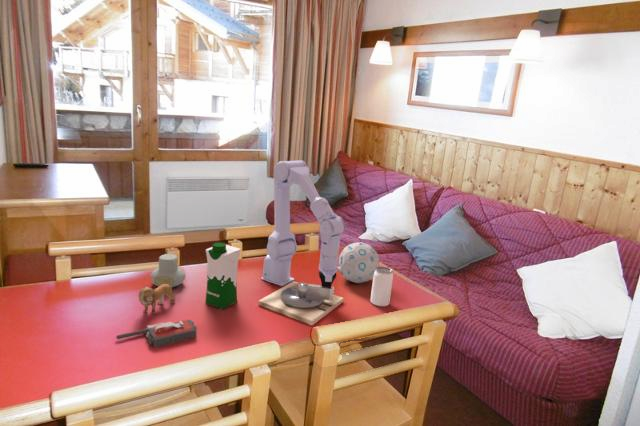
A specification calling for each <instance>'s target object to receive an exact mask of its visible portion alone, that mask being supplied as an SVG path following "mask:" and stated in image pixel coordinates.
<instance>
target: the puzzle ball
mask: <svg viewBox="0 0 640 426" xmlns="http://www.w3.org/2000/svg"><path fill="white" fill-rule="evenodd" d="M338 267H340V268H341V270H340V271H339V272H340V274H341V275H342V276H343V278H345V280H348V281H349V282H351V283H354V284H363V283H365V282H369V281H370V280H372V279H373V277H374V272H375V271H376V268H377V267H380V258H379V255H378V252H377V251H376V249H375V248H374V247H372V246H371V245H370V244H368V243H365V242H361V241H359V242H358V241H357V242H351V243H349V244H348V245H346V246H345V247H344V248H343V249H342V250H341V252H340V253H339V255H338Z"/></svg>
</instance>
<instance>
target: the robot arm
mask: <svg viewBox="0 0 640 426" xmlns="http://www.w3.org/2000/svg"><path fill="white" fill-rule="evenodd" d="M309 173H310V168H309V167H308V165H307V163H306V162H305V161H304V160H302V159H299V160H298V159H297V160H281V161H278V162H277V163H276V164H275V165H274V167H273V180H274V181H273V200H274V201H273V202H274V203H273V204H274V205H273V207H274V208H273V209H274V211H273V212H274V218H273V219H274V231H272V233H271V234H270V235H269V237H267V239H268V242H267V245H266V252H267V255H266V256H265V257H264V260H263V263H262V264H263V267H262V277H261V278H260V279H261V280H262V281H266V282H268V283H272V284H274V285H277V286H280V287H284V286H286V285H288V284H289V283H291V282H293V281H295V278H294V277H292V276H291V267H292V266H291V265H292V258H294V254H295V253H297V250H298V246H297V242H296V235H295V233H293V232H292V231H291V186H293V185H294V184H295V185H298V186H299V188H300V189H301V191H302V192H303V194H305V196H306V198H307V199H308V200H309V202H310V206H309V208H310V210H311V212H312V213H313V215H314V217H315V218H316V220H317V221H318V222H317V223H319V225H318V230H319V233H320V240H321V245H320V255H319V256H320V257H319V265H318V276H319V279H320V282H321V286H328V287H332V286H333V285H332V284H333V283H334V280H335V279H336V278H337V272H341V271H340V270H341V268H340V267H339V266H338V264H339V255H340V253H339V252H340V243H341V235H342V234H343V233H344V232H345V230H346V223H345V221H344V218H342V217H341V216H339V215H338V214H336V213H335V212H334V210H333V208H332V207H331V205H330V203H329V201H328V199H326V198H325V197H321V196H320V194H319V193H318V190H317V189H316V187H315V184H314V183H313V181H312V179H311V177H310V175H309Z"/></svg>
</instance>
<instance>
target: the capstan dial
mask: <svg viewBox="0 0 640 426" xmlns="http://www.w3.org/2000/svg"><path fill="white" fill-rule="evenodd" d="M298 283H299V286H296V287H290V288H287V289H285V290H283V291H282V292H281V301H282V302H283V303H284V304H286V305H287V306H290V307H293V308H297V309H313V308H317V307H319V306H321V305H322V304H323V301H324V300H329V301H333V295H335V286H331V287H328V286H322V284H321V285H320V284H312V283H306V282H303V281H302V282H298Z"/></svg>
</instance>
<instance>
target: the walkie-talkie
mask: <svg viewBox="0 0 640 426" xmlns="http://www.w3.org/2000/svg"><path fill="white" fill-rule="evenodd" d="M197 329H198V328H197V326H196V325H195V323H194V321H192V319H185V320H179V321H176V322H172V321H167V322H160V323H156V324H150V325H146V328H143V329H140V330H139V329H138V330H134V331H131V332H126V333H122V334H117V335H116V336H115V337H116V339H117V340H120V339H125V338H130V337H134V336H138V335H145V337H146V338H147V339H148V345H149V346H153V348H159V347H163V346H168V345H171V344H176V343H181V342H184V341H187V340H191V339H195V338H196V337H197V333H198V332H197V331H198V330H197Z"/></svg>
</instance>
